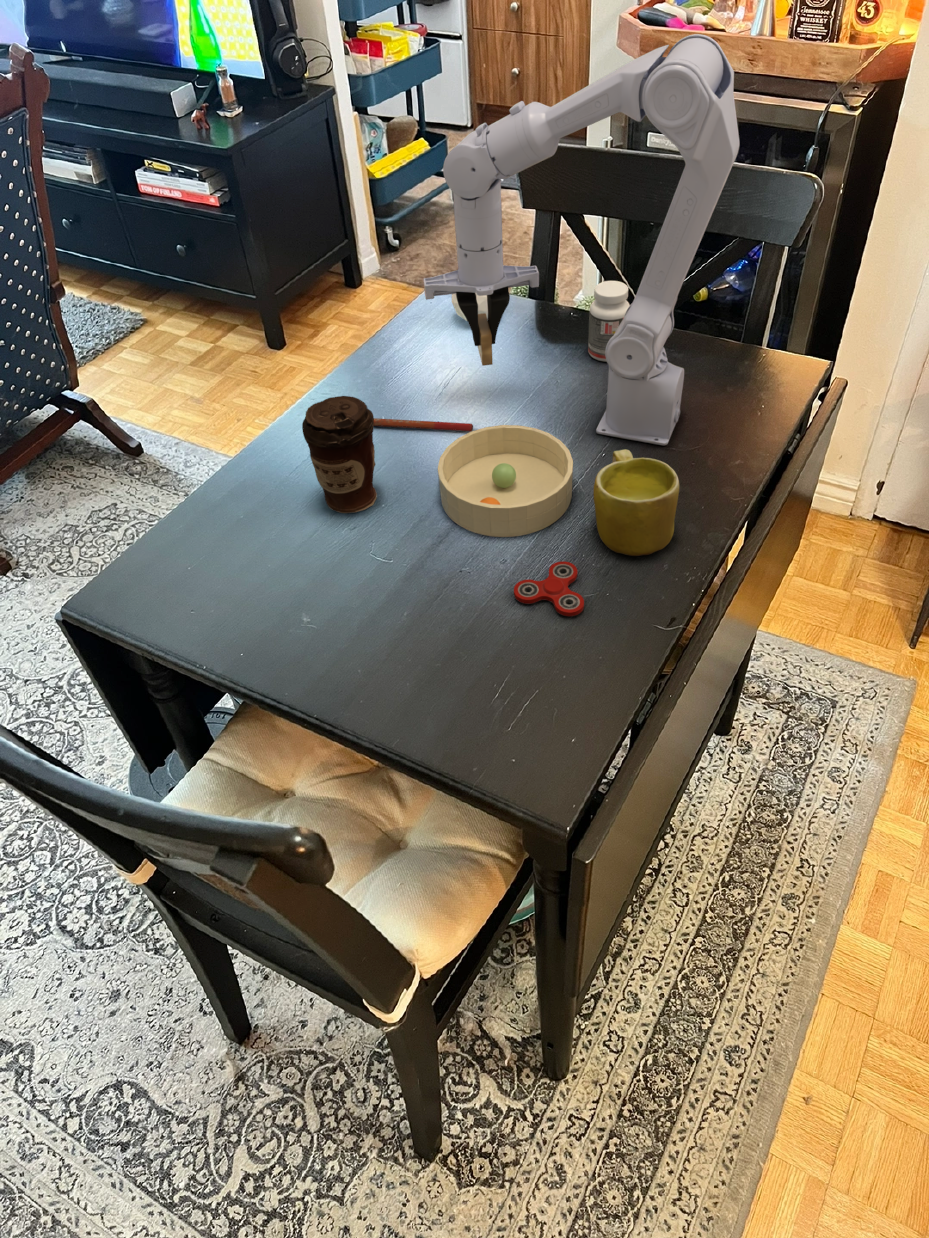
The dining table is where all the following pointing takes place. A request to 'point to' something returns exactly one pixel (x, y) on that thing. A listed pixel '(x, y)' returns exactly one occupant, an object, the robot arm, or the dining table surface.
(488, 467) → the bowl
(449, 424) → the pencil
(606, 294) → the pill bottle
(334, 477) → the coffee cup
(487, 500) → the orange bead
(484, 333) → the brown block
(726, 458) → the dining table surface
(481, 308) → the ball
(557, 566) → the fidget spinner
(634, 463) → the mug
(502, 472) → the green bead
